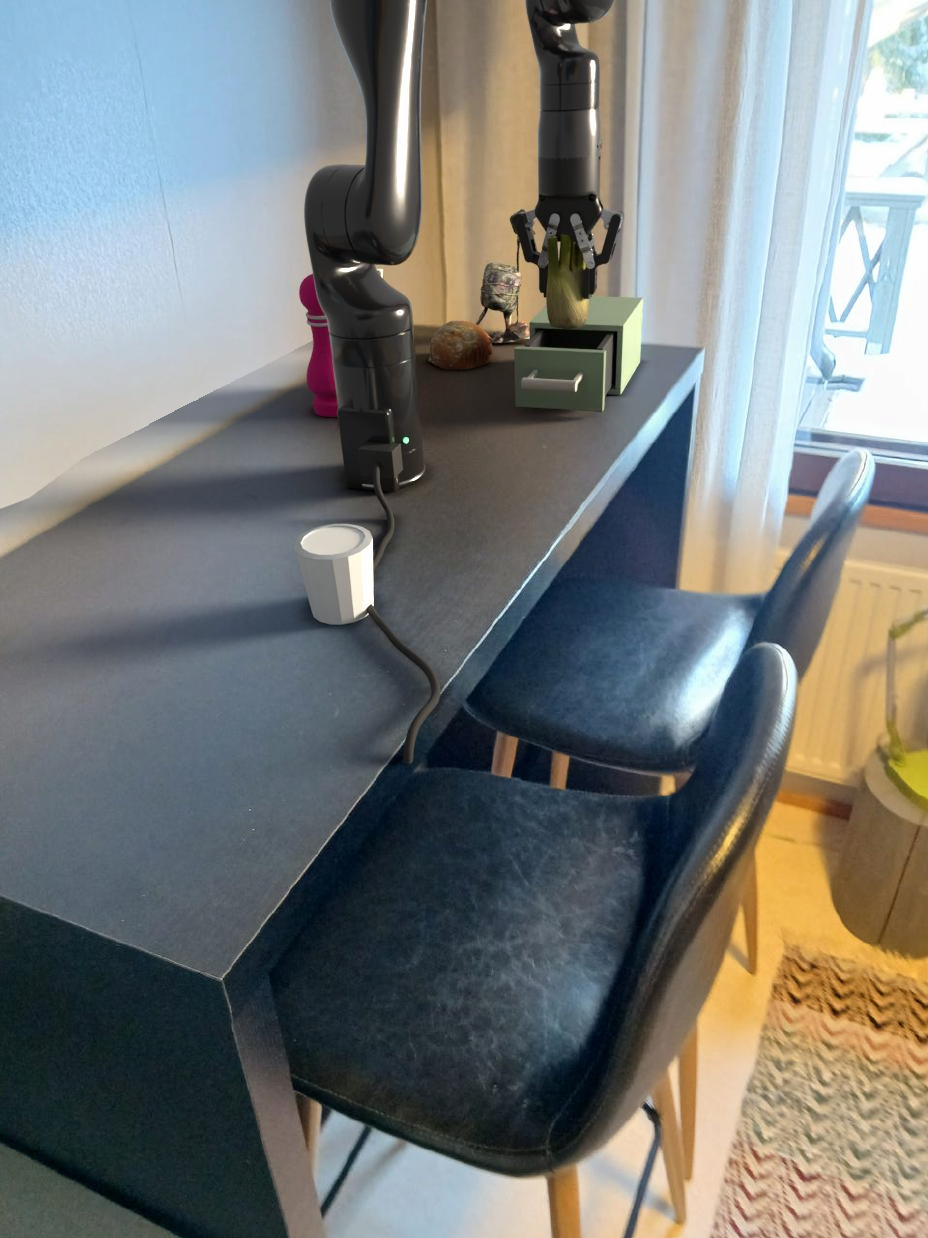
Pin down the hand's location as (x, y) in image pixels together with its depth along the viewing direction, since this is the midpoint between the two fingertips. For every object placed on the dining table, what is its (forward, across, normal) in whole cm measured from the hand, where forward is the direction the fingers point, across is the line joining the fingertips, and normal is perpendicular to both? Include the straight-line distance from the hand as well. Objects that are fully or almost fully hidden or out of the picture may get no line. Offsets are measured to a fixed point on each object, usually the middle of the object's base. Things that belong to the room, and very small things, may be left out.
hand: (568, 296), depth 121 cm
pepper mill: (+14, -31, -9) cm, 35 cm away
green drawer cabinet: (+14, 0, +12) cm, 19 cm away
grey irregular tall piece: (+14, -17, +29) cm, 37 cm away
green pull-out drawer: (+13, 0, -1) cm, 13 cm away
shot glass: (+14, -7, -58) cm, 60 cm away
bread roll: (+14, -21, +16) cm, 30 cm away
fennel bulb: (+4, 0, 0) cm, 4 cm away
